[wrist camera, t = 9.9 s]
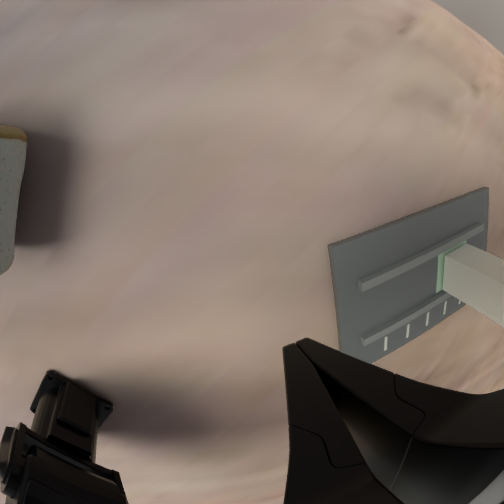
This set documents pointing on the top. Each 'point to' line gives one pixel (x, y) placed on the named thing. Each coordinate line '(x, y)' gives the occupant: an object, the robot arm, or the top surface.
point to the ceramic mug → (10, 188)
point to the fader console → (401, 275)
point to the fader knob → (476, 280)
